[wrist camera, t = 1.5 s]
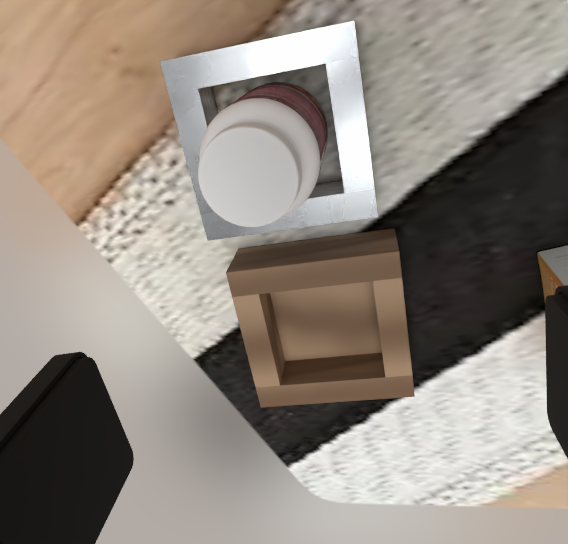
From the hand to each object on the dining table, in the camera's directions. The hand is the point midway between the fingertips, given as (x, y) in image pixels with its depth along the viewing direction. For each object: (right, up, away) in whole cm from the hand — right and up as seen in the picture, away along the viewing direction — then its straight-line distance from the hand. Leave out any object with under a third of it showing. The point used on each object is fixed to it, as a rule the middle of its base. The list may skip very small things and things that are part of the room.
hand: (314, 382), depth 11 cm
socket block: (-1, +11, +22) cm, 25 cm away
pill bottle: (-1, +11, +23) cm, 25 cm away
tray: (+3, 0, +27) cm, 28 cm away
